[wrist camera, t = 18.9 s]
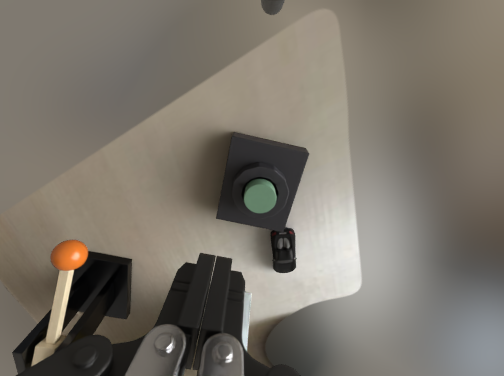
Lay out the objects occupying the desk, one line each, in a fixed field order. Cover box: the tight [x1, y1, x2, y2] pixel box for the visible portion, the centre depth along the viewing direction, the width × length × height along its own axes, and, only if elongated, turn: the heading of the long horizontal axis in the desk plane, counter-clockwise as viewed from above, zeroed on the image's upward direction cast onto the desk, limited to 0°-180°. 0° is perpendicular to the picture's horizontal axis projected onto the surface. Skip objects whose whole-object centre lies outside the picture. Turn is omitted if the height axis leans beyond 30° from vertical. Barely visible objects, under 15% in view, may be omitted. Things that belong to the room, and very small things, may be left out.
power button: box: [244, 179, 276, 213], centre depth 28 cm, size 4×4×2 cm
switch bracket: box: [12, 251, 132, 374], centre depth 34 cm, size 12×9×13 cm
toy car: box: [271, 228, 297, 273], centre depth 35 cm, size 8×3×2 cm, turn 6°
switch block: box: [216, 132, 309, 232], centre depth 30 cm, size 11×9×4 cm
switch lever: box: [31, 240, 88, 366], centre depth 29 cm, size 15×4×4 cm, turn 167°
